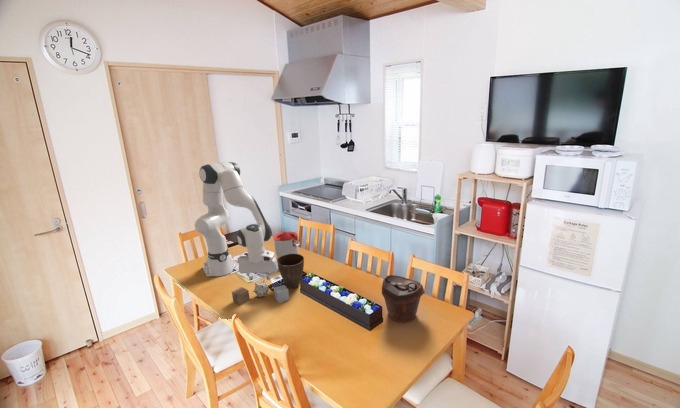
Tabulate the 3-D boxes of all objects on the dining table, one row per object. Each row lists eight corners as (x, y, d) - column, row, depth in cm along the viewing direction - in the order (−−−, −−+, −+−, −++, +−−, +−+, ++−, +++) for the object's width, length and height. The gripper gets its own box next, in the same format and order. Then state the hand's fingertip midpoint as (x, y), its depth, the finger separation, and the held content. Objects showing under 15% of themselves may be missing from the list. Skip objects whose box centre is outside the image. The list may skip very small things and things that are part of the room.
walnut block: (233, 302, 174) (231, 291, 173) (242, 296, 179) (241, 286, 177) (240, 305, 171) (238, 295, 169) (249, 300, 175) (248, 290, 174)
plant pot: (311, 282, 189) (309, 257, 185) (293, 295, 178) (290, 268, 173) (292, 276, 198) (290, 251, 193) (274, 287, 186) (271, 261, 182)
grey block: (274, 297, 176) (273, 287, 175) (285, 294, 179) (284, 284, 177) (278, 303, 171) (277, 292, 170) (289, 299, 174) (288, 289, 172)
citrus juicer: (293, 267, 209) (290, 237, 203) (271, 262, 216) (267, 234, 211) (306, 256, 222) (304, 228, 217) (284, 253, 230) (282, 226, 224)
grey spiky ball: (259, 303, 179) (246, 290, 176) (268, 290, 184) (255, 278, 182) (267, 300, 172) (253, 288, 170) (276, 288, 178) (263, 275, 176)
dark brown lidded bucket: (430, 322, 150) (431, 287, 145) (388, 329, 147) (387, 293, 142) (415, 301, 167) (415, 269, 162) (377, 307, 164) (376, 274, 159)
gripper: (235, 258, 169) (238, 282, 173) (274, 257, 168) (277, 282, 172) (239, 253, 175) (242, 276, 179) (277, 252, 174) (280, 276, 178)
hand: (260, 279), depth 176 cm, fingers open, 8 cm apart
